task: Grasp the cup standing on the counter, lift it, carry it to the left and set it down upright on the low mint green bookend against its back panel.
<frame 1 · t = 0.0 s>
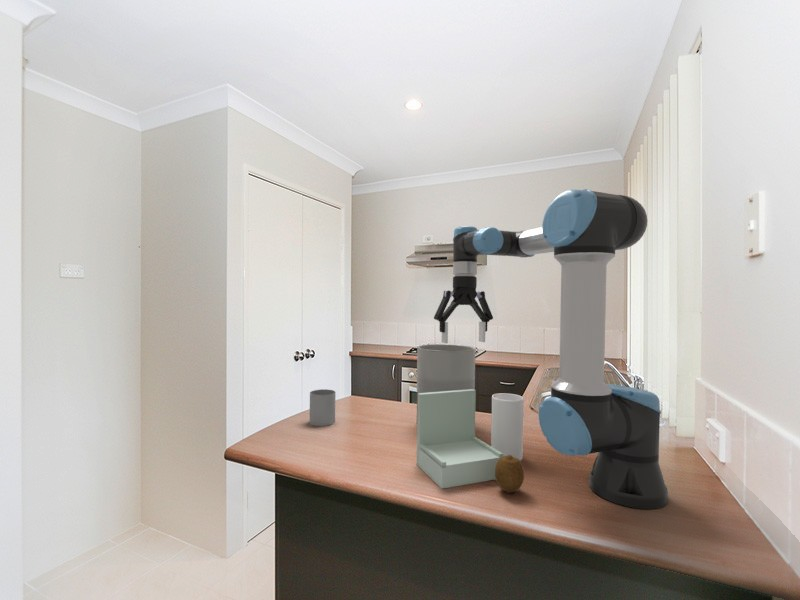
hand: (463, 342, 132), 28 cm above the countertop, fingers open, 13 cm apart
cup: (506, 457, 111), on the countertop
planter: (444, 426, 135), on the countertop
cup 2: (322, 422, 138), on the countertop
fruit: (508, 492, 91), on the countertop
mint green bookend: (458, 470, 101), on the countertop
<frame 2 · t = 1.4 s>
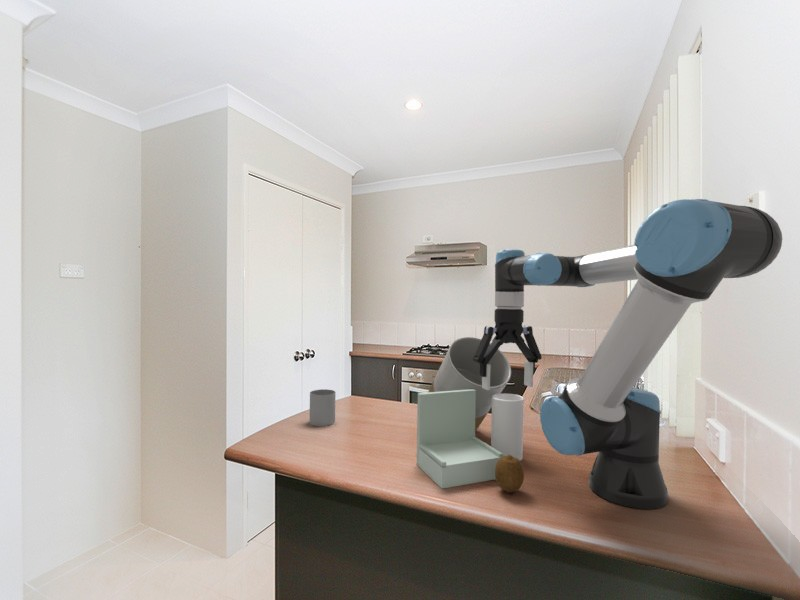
hand: (507, 387, 110), 18 cm above the countertop, fingers open, 13 cm apart
planter: (450, 414, 133), point 5 cm above the countertop
everything else where it was.
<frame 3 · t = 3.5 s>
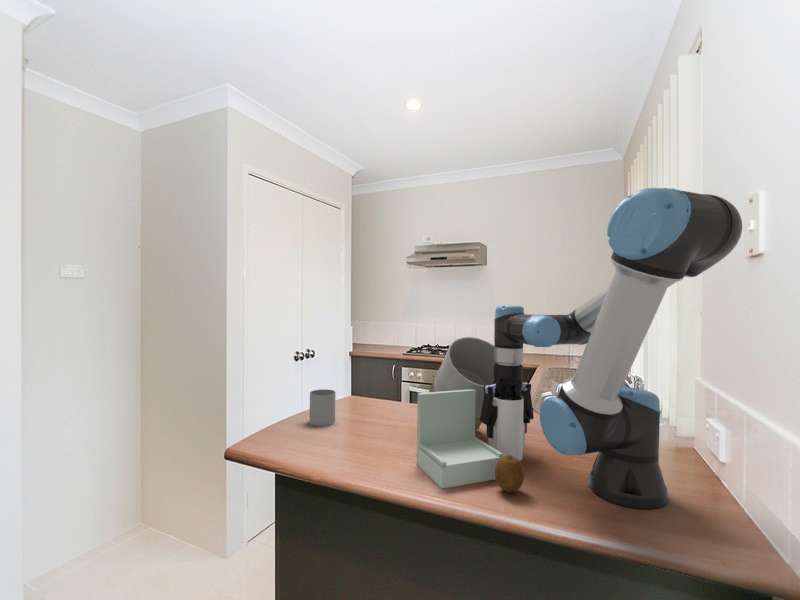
hand: (506, 447, 111), 2 cm above the countertop, fingers closed on cup, 8 cm apart
cup: (506, 456, 111), on the countertop, touching gripper, planter
planter: (450, 414, 133), point 4 cm above the countertop, touching cup
everything else where it was.
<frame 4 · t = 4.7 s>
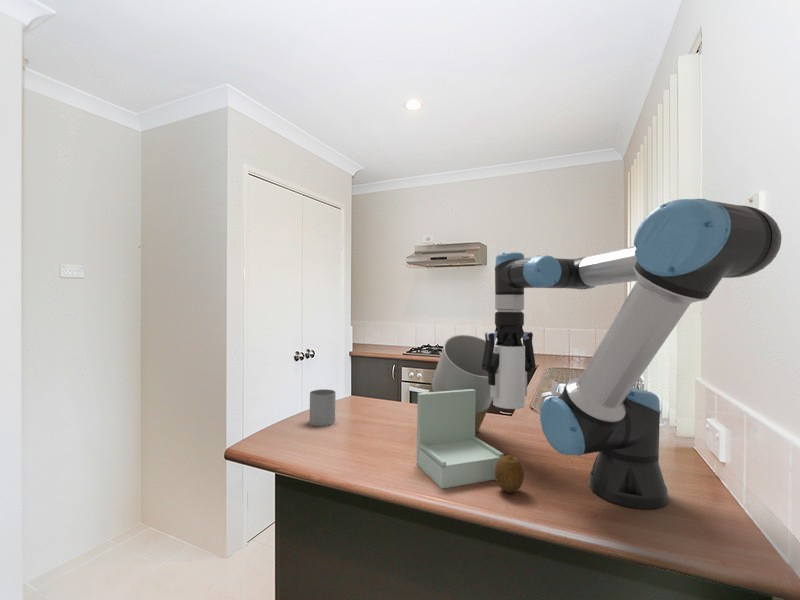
hand: (508, 396, 110), 16 cm above the countertop, fingers closed on cup, 8 cm apart
cup: (508, 405, 110), point 14 cm above the countertop, touching gripper
planter: (451, 416, 133), point 4 cm above the countertop
everything else where it was.
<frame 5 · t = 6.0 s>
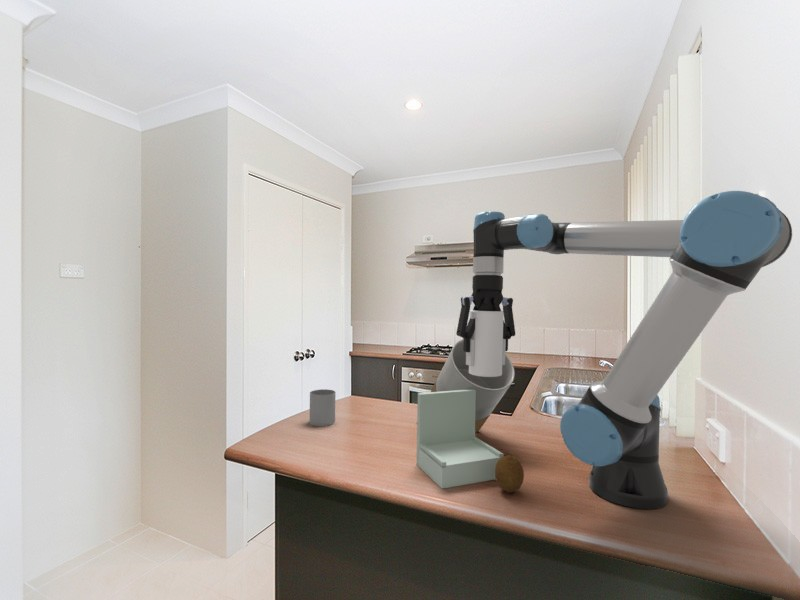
hand: (485, 364, 104), 26 cm above the countertop, fingers closed on cup, 8 cm apart
cup: (485, 374, 104), point 23 cm above the countertop, touching gripper
planter: (452, 414, 132), point 5 cm above the countertop, touching mint green bookend
everything else where it was.
when the fingers open (9 cm above the countertop, at t = 8.9 s): cup drops 1 cm, resting on mint green bookend.
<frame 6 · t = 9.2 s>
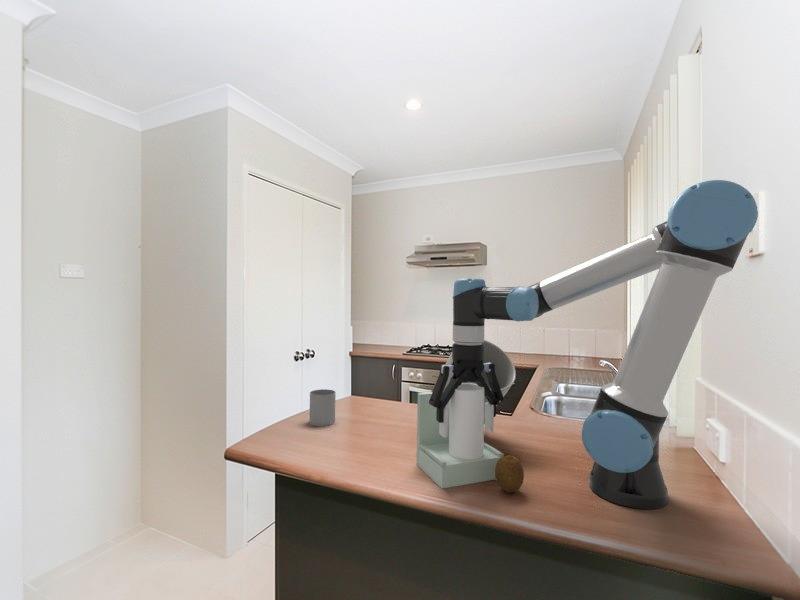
hand: (466, 433, 99), 10 cm above the countertop, fingers open, 12 cm apart
cup: (466, 453, 99), point 5 cm above the countertop, touching mint green bookend
everything else where it was.
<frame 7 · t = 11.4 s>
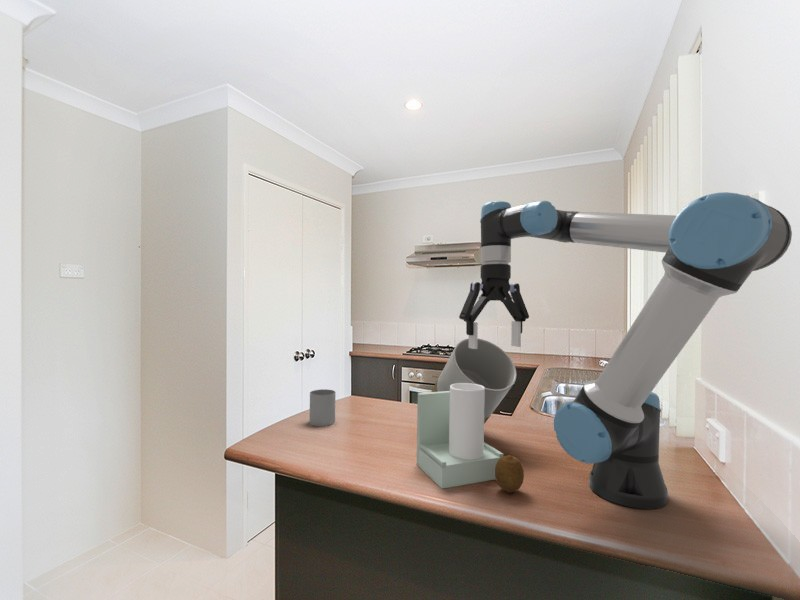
hand: (495, 347, 105), 30 cm above the countertop, fingers open, 13 cm apart
nothing on the countertop moved.
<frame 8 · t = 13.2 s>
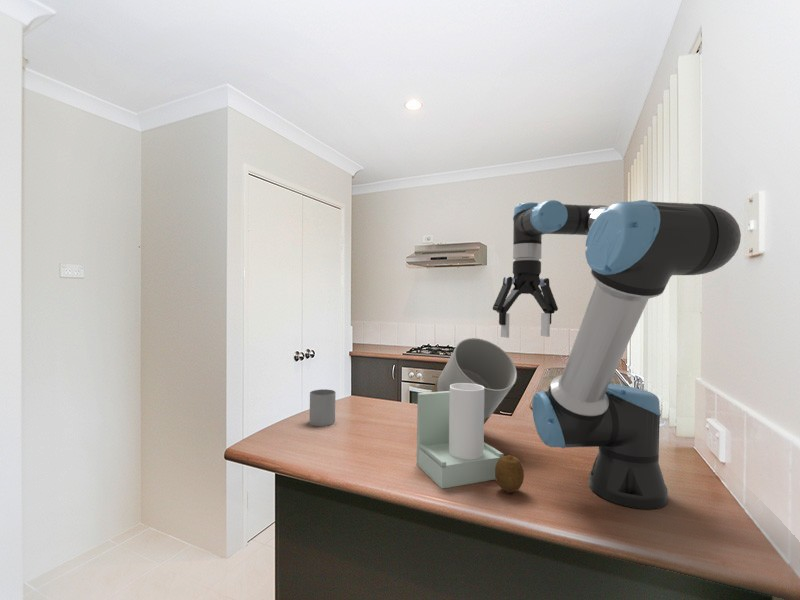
hand: (525, 336, 115), 32 cm above the countertop, fingers open, 13 cm apart
nothing on the countertop moved.
at the end: cup inside the target area on the mint green bookend (1.4 cm from its centre), point 4.8 cm above the mint green bookend's base; cup tilted 0°; the gripper is holding nothing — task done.
